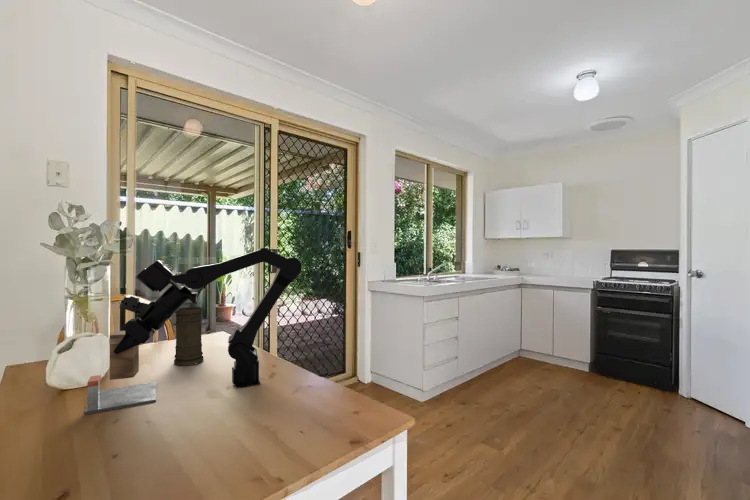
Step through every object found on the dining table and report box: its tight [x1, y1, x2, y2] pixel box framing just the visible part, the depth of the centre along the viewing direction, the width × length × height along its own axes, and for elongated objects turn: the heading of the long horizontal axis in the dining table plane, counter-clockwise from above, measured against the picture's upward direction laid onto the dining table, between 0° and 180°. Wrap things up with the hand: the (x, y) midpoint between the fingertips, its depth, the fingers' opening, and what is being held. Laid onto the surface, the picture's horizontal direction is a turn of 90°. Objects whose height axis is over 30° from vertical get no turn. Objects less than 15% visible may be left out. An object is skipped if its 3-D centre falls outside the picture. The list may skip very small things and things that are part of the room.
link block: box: [108, 330, 140, 381], centre depth 92 cm, size 5×5×11 cm
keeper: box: [83, 374, 158, 416], centre depth 92 cm, size 14×14×7 cm
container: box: [173, 306, 204, 367], centre depth 121 cm, size 9×9×18 cm
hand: (118, 350), depth 91 cm, fingers closed on link block, 5 cm apart
